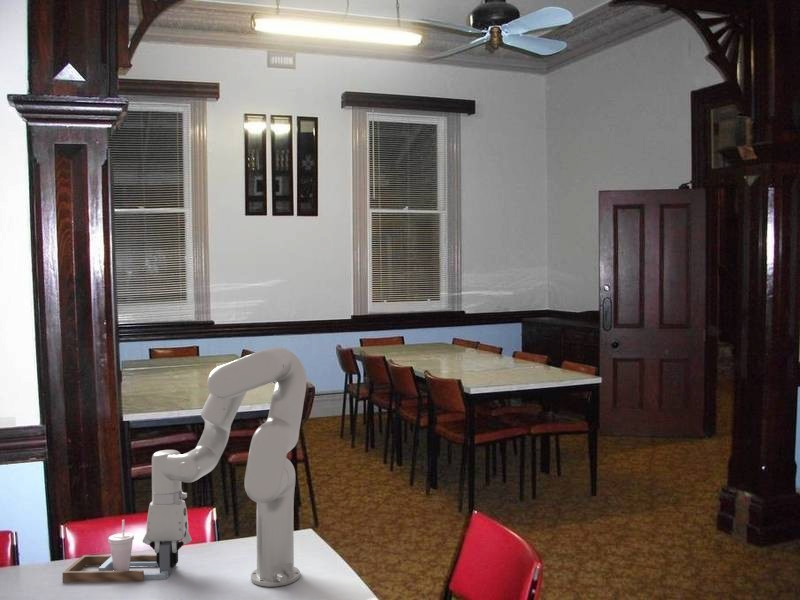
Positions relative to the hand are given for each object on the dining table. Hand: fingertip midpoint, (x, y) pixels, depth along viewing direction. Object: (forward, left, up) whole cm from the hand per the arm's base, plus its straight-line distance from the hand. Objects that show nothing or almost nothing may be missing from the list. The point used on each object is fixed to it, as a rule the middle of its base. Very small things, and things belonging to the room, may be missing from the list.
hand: (167, 565), depth 193 cm
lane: (+7, +13, -2) cm, 15 cm away
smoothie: (+6, +11, -2) cm, 12 cm away
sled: (+4, +7, -2) cm, 8 cm away
